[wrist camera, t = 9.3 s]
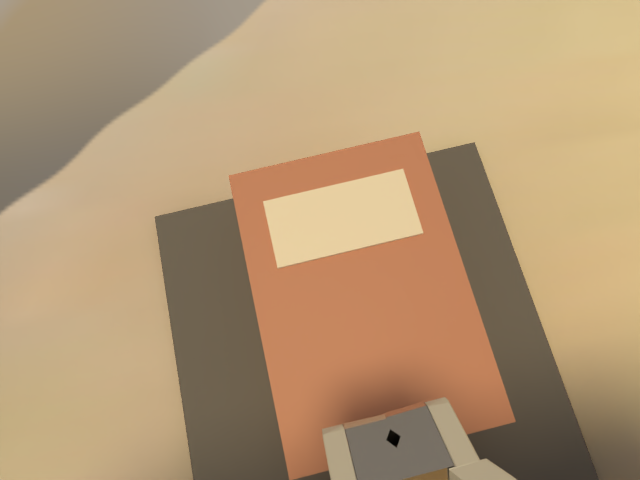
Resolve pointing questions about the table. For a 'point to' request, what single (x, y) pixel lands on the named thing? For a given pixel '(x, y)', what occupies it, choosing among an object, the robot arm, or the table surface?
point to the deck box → (361, 295)
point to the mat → (250, 365)
